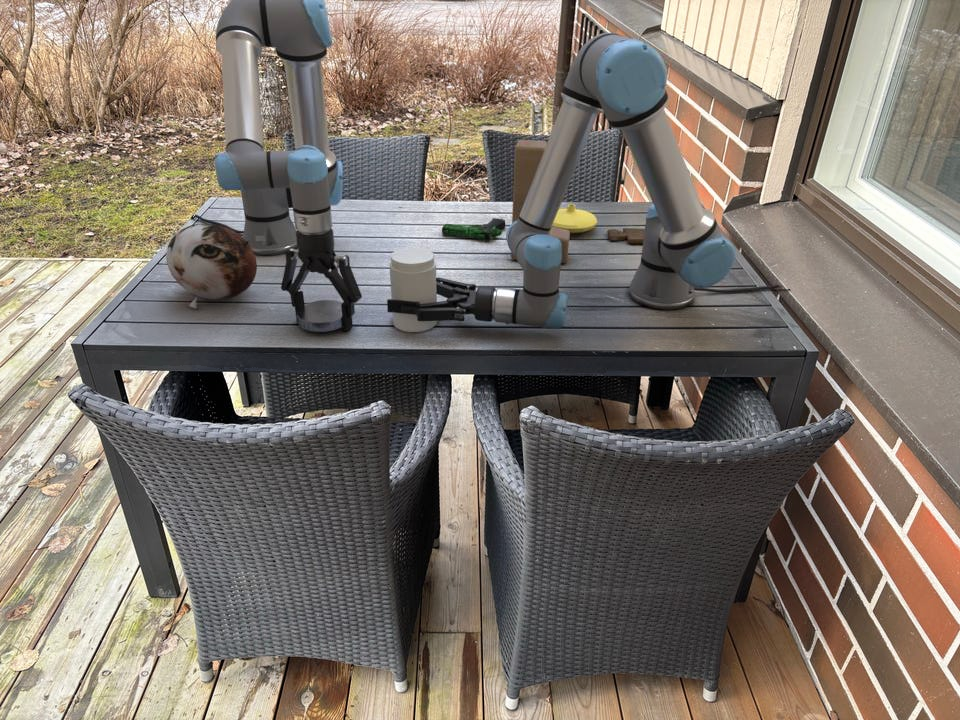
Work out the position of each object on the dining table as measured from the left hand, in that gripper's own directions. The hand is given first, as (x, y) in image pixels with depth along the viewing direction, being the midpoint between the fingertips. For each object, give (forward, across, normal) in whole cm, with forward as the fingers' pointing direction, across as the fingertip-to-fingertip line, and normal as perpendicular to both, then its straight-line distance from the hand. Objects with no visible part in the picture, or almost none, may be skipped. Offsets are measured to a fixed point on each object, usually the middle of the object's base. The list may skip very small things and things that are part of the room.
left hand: (324, 324), depth 157 cm
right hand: (-6, +14, +8) cm, 17 cm away
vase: (0, +37, +78) cm, 87 cm away
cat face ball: (0, -31, +4) cm, 31 cm away
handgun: (0, +12, +66) cm, 67 cm away
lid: (-3, 0, 0) cm, 3 cm away
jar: (0, +18, +8) cm, 20 cm away
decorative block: (0, +35, +54) cm, 64 cm away
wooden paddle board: (0, +62, +79) cm, 100 cm away
